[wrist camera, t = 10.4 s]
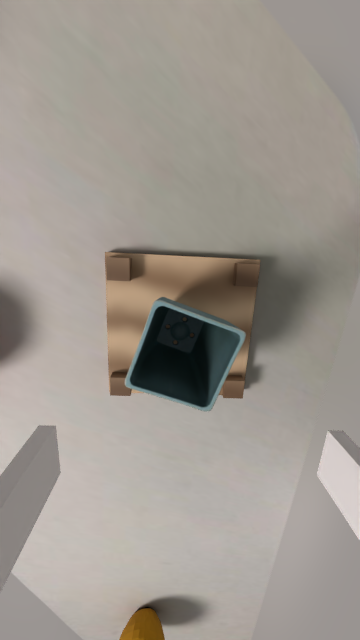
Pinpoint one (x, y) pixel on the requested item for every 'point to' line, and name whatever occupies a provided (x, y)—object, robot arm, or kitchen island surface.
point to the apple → (143, 626)
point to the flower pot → (184, 355)
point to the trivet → (181, 286)
